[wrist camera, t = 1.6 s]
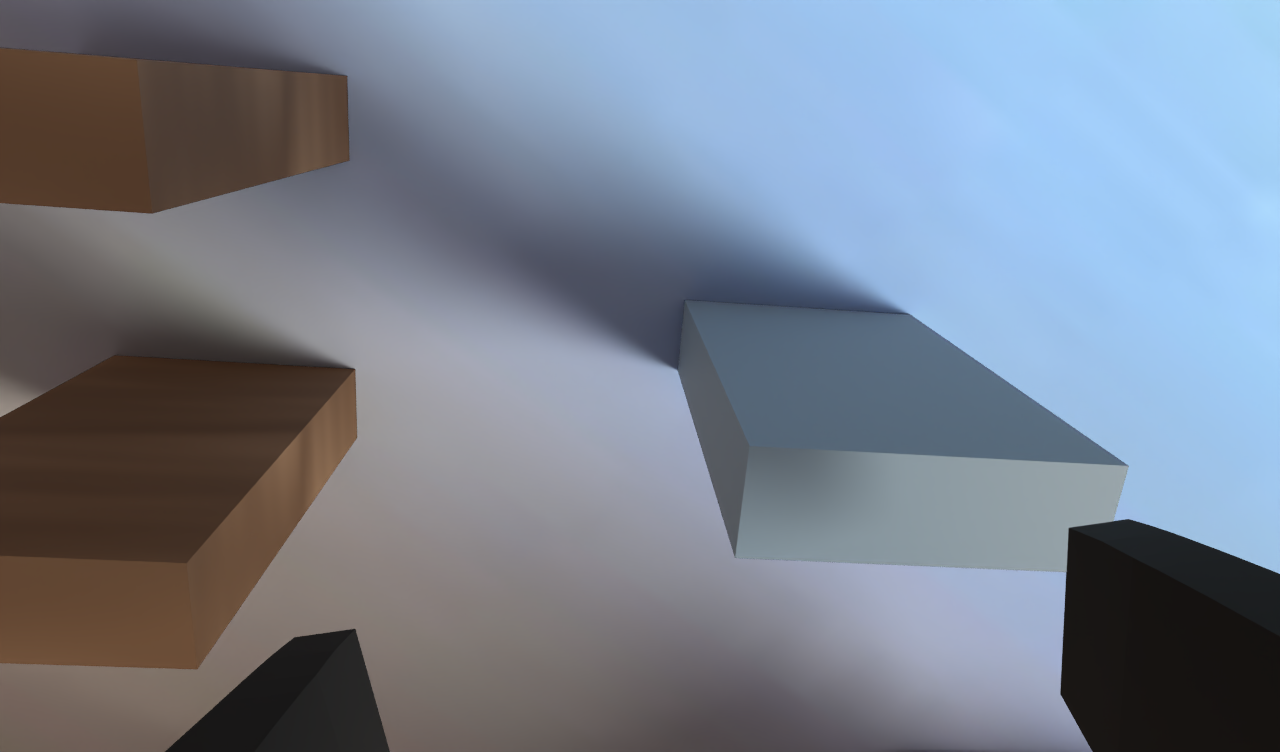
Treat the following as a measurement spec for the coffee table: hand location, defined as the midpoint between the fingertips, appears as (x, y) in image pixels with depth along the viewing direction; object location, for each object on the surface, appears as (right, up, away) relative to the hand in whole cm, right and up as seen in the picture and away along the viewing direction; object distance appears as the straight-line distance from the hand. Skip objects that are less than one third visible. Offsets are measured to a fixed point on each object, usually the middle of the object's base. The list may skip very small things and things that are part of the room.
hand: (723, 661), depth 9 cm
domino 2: (-10, +2, +10) cm, 14 cm away
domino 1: (-9, +8, +8) cm, 15 cm away
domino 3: (+3, +4, +10) cm, 11 cm away
